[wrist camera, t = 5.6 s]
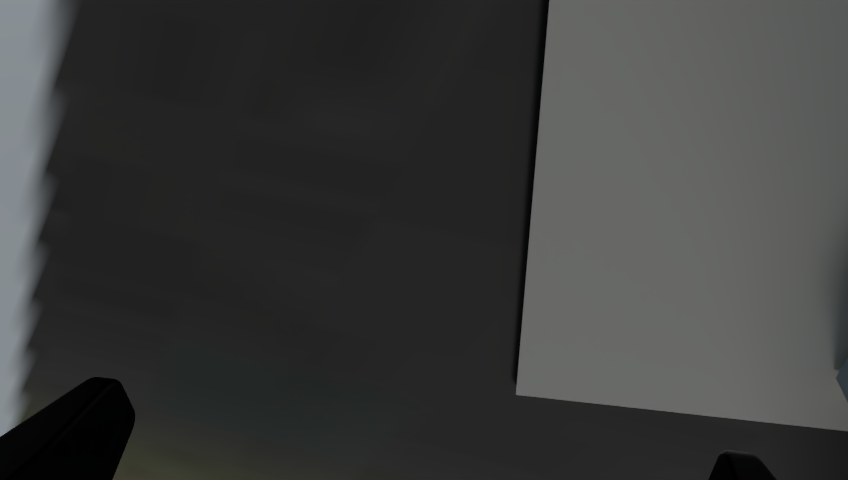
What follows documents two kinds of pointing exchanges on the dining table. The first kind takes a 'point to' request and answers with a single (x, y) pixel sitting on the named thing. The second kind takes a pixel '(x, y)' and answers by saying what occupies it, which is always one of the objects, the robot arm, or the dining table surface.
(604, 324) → the white flat tray
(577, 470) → the dining table surface
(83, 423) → the robot arm
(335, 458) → the dining table surface
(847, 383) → the beech slab
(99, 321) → the dining table surface
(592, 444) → the dining table surface
